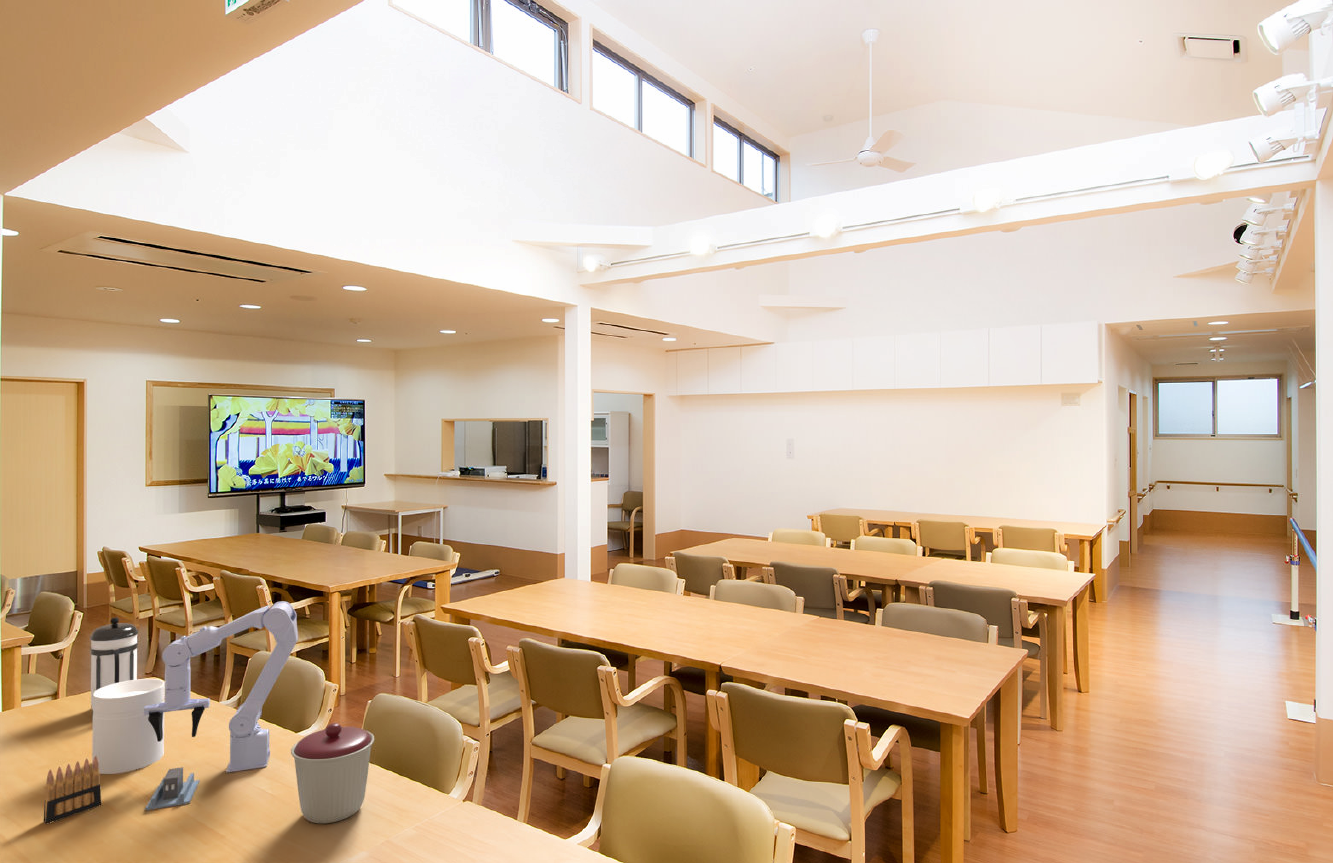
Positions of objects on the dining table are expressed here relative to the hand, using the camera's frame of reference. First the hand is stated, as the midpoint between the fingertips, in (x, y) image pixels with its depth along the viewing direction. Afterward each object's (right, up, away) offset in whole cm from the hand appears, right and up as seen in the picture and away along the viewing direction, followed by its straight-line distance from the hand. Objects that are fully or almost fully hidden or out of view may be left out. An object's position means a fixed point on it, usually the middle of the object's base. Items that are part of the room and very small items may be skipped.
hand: (177, 738), depth 195 cm
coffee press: (-50, -10, +45) cm, 68 cm away
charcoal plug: (+7, -9, -12) cm, 17 cm away
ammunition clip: (-11, -10, -21) cm, 25 cm away
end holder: (+7, -9, -12) cm, 17 cm away
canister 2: (+51, -10, -20) cm, 55 cm away
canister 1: (-18, -10, +8) cm, 22 cm away
